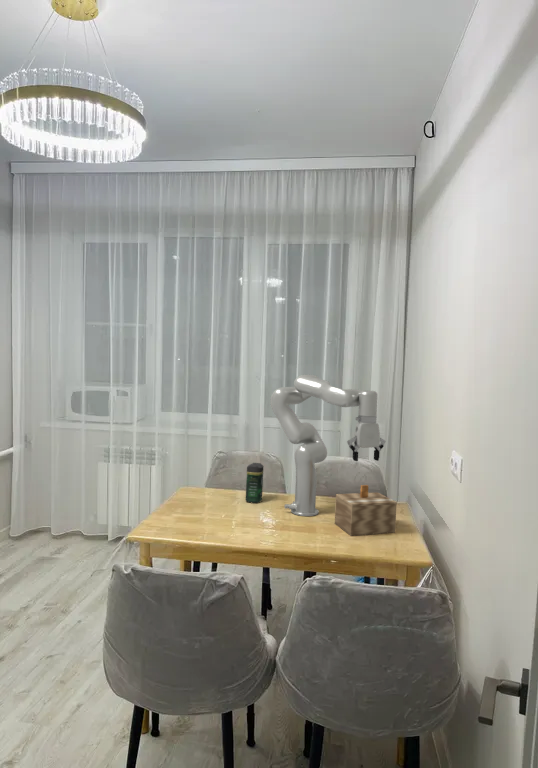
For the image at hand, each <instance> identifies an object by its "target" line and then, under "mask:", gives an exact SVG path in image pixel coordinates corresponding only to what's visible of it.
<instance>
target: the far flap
mask: <svg viewBox="0 0 538 768" xmlns="http://www.w3.org/2000/svg"><path fill="white" fill-rule="evenodd" d="M359 491H360V492H357V493H355V492H354V493H353V492H352V493H336V494H335V497H336V496H337V497H338V498H340V499H341V500H343V501H344V499H359V498H382V497H387V496H386V495H384V494H382V493H380V492H369V485H368V484H360V490H359Z"/></svg>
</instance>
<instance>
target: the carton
mask: <svg viewBox="0 0 538 768" xmlns="http://www.w3.org/2000/svg"><path fill="white" fill-rule="evenodd" d="M397 503H398V502H397V501H396V500H394V499H392V498H390V497H387V496H386V497H382V498H359V499H344V501H343V500H341V499H340V498H338V497H337V496H336V495H335V504H334V505H335V506H334V507H335V508H334V509H335V510H334V525H336V526H337V527H338V528H340V529H341V530H343V532H345V533H346V534H348V535H349V536H350V537H357V536H370V535H371V536H372V535H373V536H374V535H389V534H396V527H397V525H396V524H397V523H396V522H397V507H398V506H397Z"/></svg>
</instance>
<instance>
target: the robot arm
mask: <svg viewBox="0 0 538 768" xmlns="http://www.w3.org/2000/svg"><path fill="white" fill-rule="evenodd" d="M311 397H314V398H317V399H319V400H320V399H321V400H322V401H324V402H326V403H327V404H331V405H334V406H336V407H341V408H353V407H355V408H356V407H358V415H357V417H355V421H357V422H356V425H355V429H354V436H353V437H352V438H350V439H348V440H347V441H346V443H347V445H348V447H349V449H350V450H351V451H352V460H353V461H355V462H358V461H359V451H358V450H360V448H363V449H364V448H374V450H373V460H374V461H377V462H378V461H379V460H380V452H381V451H382V449H383V448H384V446H385V444H386V440H385V439H383V438H382V437H380V436H381V435H380V427H379V423H377V416H378V414H377V412H378V393H377V392H376V390H375V391H374V390H362V389H359V388H358V389H357V388H347V389H344V388H340V387H336V386H333V385H332V384H331V382H329V381H328V380H325V379H323V378H322V379H321V378H320V377H319V376H318V375H315V374H301V375H298V376H297V377H296V378H295V379H294V381H293V386H282V387H278V388H276V389H275V390H274V391H273V392H272V394H271V396H270V408H271V410H272V412H273V415H274V416H275V417H276V419H277V420H278V422H279V424H280V426H281V428H282V430H283V431H284V433H285V435H286V437H287V439H288V441H289V442H290V443H291V444H293V445H299V446H298V447H297V448H296V449H295V451H294V463H295V486H294V487H295V488H294V495H295V496H294V501H292V503H290V504H289V503H288V504H287V503H286V504H284V509H289V510H290V512H291V514H293V515H296V516H302V517H312V516H317V515H319V511H320V510H319V509H317V508H316V503H317V502H316V501H317V469H316V467H315V464H318V463H321V462H324V461H325V460H326V458H327V456H328V449H327V447H326V445H325V443H324V441H323V439H322V437H321V436H320V434H319V432H318V430H317V428H316V427H315V426H314V424H311V423H309V422H301V420H299V418H298V416H297V414H296V412H295V411H294V410H293V409H292V408H291V407H290V406H294V405H300V404H302V403H303V402H304V401H307V400H308V399H309V398H311Z"/></svg>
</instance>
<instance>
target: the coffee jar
mask: <svg viewBox="0 0 538 768" xmlns="http://www.w3.org/2000/svg"><path fill="white" fill-rule="evenodd" d="M245 483H246V484H245V485H246V486H245V502H246V501H247V502H246V503H250V502H252V503H251V504H258V502H259V503H261V502H262V500H263V488H264V465H263V464H262V463H261V462H252V463H250V464H248V465H247V466H246V482H245Z"/></svg>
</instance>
